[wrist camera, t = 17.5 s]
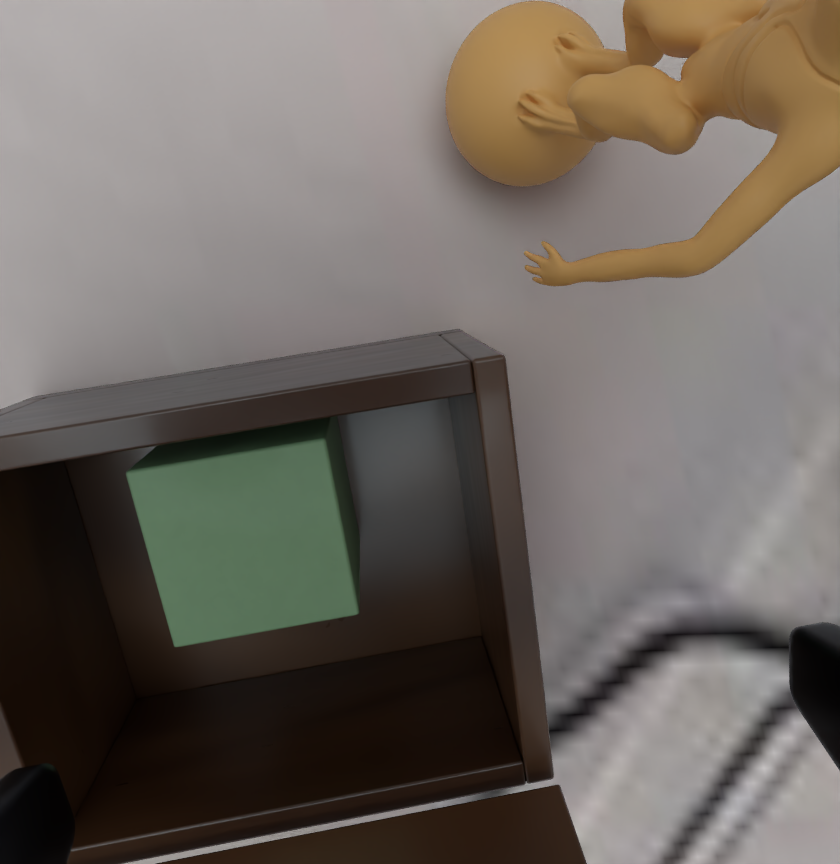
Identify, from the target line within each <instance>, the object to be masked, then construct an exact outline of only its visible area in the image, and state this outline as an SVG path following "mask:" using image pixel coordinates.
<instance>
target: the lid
mask: <svg viewBox="0 0 840 864" xmlns="http://www.w3.org/2000/svg"><path fill="white" fill-rule="evenodd" d="M157 864H587V863H586V860H585V857H584V854H583V851H582V848H581V846H580V843H579V840H578V837H577V834H576V831H575V828H574V825H573V822H572V819H571V816H570V814H569V811H568V808H567V805H566V802H565V799H564V796H563V793H562V790H561V787H560V786H559V785H554V786H549V787H544V788H539V789H533V790H528V791H523V792H518V793H513V794H508V795H503V796H498V797H493V798H488V799H483V800H477V801H472V802H467V803H462V804H457V805H452V806H447V807H442V808H437V809H432V810H427V811H421V812H416V813H411V814H406V815H401V816H396V817H391V818H386V819H381V820H376V821H371V822H365V823H360V824H355V825H350V826H345V827H340V828H335V829H330V830H325V831H320V832H315V833H309V834H304V835H299V836H294V837H289V838H284V839H279V840H274V841H269V842H264V843H258V844H253V845H248V846H243V847H238V848H233V849H228V850H223V851H218V852H213V853H208V854H202V855H197V856H192V857H187V858H182V859H177V860H172V861H167V862H162V863H157Z"/></svg>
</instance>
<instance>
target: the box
mask: <svg viewBox="0 0 840 864" xmlns="http://www.w3.org/2000/svg"><path fill="white" fill-rule="evenodd" d="M334 416H337V419H338V424H339V429H340V435H341V440H342V445H343V451H344V456H345V461H346V467H347V472H348V477H349V483H350V488H351V493H352V499H353V504H354V509H355V515H356V520H357V525H358V531H359V536H360V611H359V614H357V615H353V616H348V617H342V618H336V619H331V620H325V621H320V622H314V623H309V624H303V625H298V626H292V627H287V628H281V629H276V630H270V631H265V632H259V633H253V634H248V635H242V636H237V637H231V638H226V639H220V640H215V641H209V642H204V643H198V644H193V645H187V646H182V647H175V646H174V644H173V641H172V637H171V634H170V630H169V626H168V623H167V619H166V616H165V612H164V609H163V605H162V601H161V598H160V594H159V591H158V587H157V584H156V580H155V576H154V573H153V569H152V566H151V562H150V559H149V555H148V551H147V548H146V544H145V541H144V537H143V534H142V530H141V526H140V523H139V519H138V516H137V512H136V509H135V505H134V501H133V498H132V494H131V491H130V487H129V484H128V480H127V476H126V472H127V471H128V470H129V469H130V468H131V467H132V466H134V465H135V464H136V463H137V462H138V461H140V460H141V459H142V458H143V457H144V456H146V455H147V454H148V453H149V452H150V451H152V450H153V449H154V448H155V447H156V446H158V445H164V444H170V443H176V442H182V441H188V440H194V439H200V438H207V437H213V436H219V435H225V434H231V433H237V432H243V431H249V430H255V429H261V428H267V427H273V426H279V425H285V424H291V423H297V422H303V421H310V420H316V419H322V418H328V417H334ZM43 763H48V764H52V765H53V766H54V767H55V768H56V769H57V771H58V773H59V775H60V778H61V781H62V784H63V787H64V789H65V792H66V795H67V798H68V801H69V803H70V806H71V809H72V812H73V815H74V819H75V836H74V841H73V845H72V848H71V852H70V855H69V858H68V862H67V864H123V863H128V862H133V861H138V860H143V859H148V858H153V857H159V856H164V855H169V854H174V853H179V852H184V851H189V850H194V849H199V848H205V847H210V846H215V845H220V844H225V843H230V842H235V841H240V840H245V839H250V838H256V837H261V836H266V835H271V834H276V833H281V832H286V831H291V830H296V829H302V828H307V827H312V826H317V825H322V824H327V823H332V822H337V821H342V820H347V819H353V818H358V817H363V816H368V815H373V814H378V813H383V812H388V811H393V810H399V809H404V808H409V807H414V806H419V805H424V804H429V803H434V802H439V801H444V800H450V799H455V798H460V797H465V796H470V795H475V794H480V793H485V792H490V791H496V790H501V789H506V788H511V787H516V786H521V785H524V784H525V783H526V782H527V783H535V782H540V781H545V780H550V779H553V777H554V772H553V763H552V755H551V746H550V737H549V729H548V720H547V712H546V703H545V694H544V686H543V677H542V668H541V660H540V651H539V643H538V634H537V625H536V617H535V608H534V599H533V591H532V582H531V573H530V565H529V556H528V548H527V539H526V530H525V522H524V513H523V504H522V496H521V487H520V479H519V470H518V461H517V453H516V444H515V435H514V427H513V418H512V410H511V401H510V392H509V384H508V375H507V366H506V358H505V356H504V355H503V354H501V353H499V352H498V351H496V350H494V349H493V348H491V347H489V346H487V345H486V344H484V343H482V342H480V341H479V340H477V339H475V338H473V337H472V336H470V335H468V334H466V333H465V332H463V331H462V330H460V329H455V330H449V331H443V332H436V333H430V334H424V335H418V336H411V337H405V338H399V339H393V340H386V341H380V342H374V343H368V344H361V345H355V346H349V347H343V348H336V349H330V350H324V351H318V352H311V353H305V354H299V355H293V356H286V357H280V358H274V359H268V360H261V361H255V362H249V363H243V364H236V365H230V366H224V367H217V368H211V369H205V370H199V371H192V372H186V373H180V374H174V375H167V376H161V377H155V378H149V379H142V380H136V381H130V382H124V383H117V384H111V385H105V386H99V387H92V388H86V389H80V390H74V391H67V392H61V393H55V394H49V395H42V396H36V397H32V398H29V399H26V400H24V401H22V402H19V403H16V404H14V405H11V406H8V407H6V408H3V409H0V778H2V777H3V776H5V775H6V774H7V773H9V772H10V771H12V770H14V769H17V768H21V767H26V766H32V765H37V764H43Z"/></svg>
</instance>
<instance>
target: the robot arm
mask: <svg viewBox="0 0 840 864" xmlns="http://www.w3.org/2000/svg"><path fill="white" fill-rule="evenodd" d="M789 684H790V690H791V694H792V697H793V700H794V702H795V704H796V706H797V707H798V709H799V711H800V712H801V714H802V715H803V717H804V718H805V720H806V721H807V723H808V724H809V726H810V727H811V729H812V730H813V732H814V733H815V735H816V736H817V738H818V739H819V741H820V742H821V743H822V745H823V746H824V748H825V749H826V751H827V752H828V754H829V755H830V757H831V758H832V760H833V761H834V763H835V764H836V766H837V767H838V769H839V770H840V626H838V625H835V624H831V623H825V622H822V623H816V624H811V625H805V626H800V627H796V628H795V629H793V630H792V632H791V634H790V637H789ZM74 836H75V819H74V815H73V812H72V809H71V806H70V803H69V801H68V798H67V795H66V792H65V789H64V787H63V784H62V781H61V778H60V775H59V773H58V771H57V769H56V768H55V767H54V766H53V765H52V764H48V763H43V764H37V765H32V766H26V767H21V768H17V769H14V770H12V771H10V772H9V773H7V774H6V775H5V776H3V777H2V778H0V864H67V862H68V858H69V855H70V852H71V848H72V845H73V841H74Z"/></svg>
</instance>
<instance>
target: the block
mask: <svg viewBox="0 0 840 864" xmlns="http://www.w3.org/2000/svg"><path fill="white" fill-rule="evenodd" d="M126 476H127V480H128V484H129V487H130V491H131V494H132V498H133V501H134V505H135V509H136V512H137V516H138V519H139V523H140V526H141V530H142V534H143V537H144V541H145V544H146V548H147V551H148V555H149V559H150V562H151V566H152V569H153V573H154V576H155V580H156V584H157V587H158V591H159V594H160V598H161V601H162V605H163V609H164V612H165V616H166V619H167V623H168V626H169V630H170V634H171V637H172V641H173V644H174V646H175V647H182V646H187V645H193V644H198V643H204V642H209V641H215V640H220V639H226V638H231V637H237V636H242V635H248V634H253V633H259V632H265V631H270V630H276V629H281V628H287V627H292V626H298V625H303V624H309V623H314V622H320V621H325V620H331V619H336V618H342V617H348V616H353V615H357V614H359V611H360V536H359V531H358V525H357V520H356V515H355V509H354V504H353V499H352V493H351V488H350V483H349V477H348V472H347V467H346V461H345V456H344V451H343V445H342V440H341V435H340V429H339V424H338V419H337V416H334V417H328V418H322V419H316V420H310V421H303V422H297V423H291V424H285V425H279V426H273V427H267V428H261V429H255V430H249V431H243V432H237V433H231V434H225V435H219V436H213V437H207V438H200V439H194V440H188V441H182V442H176V443H170V444H164V445H158V446H156V447H155V448H154V449H153V450H152V451H150V452H149V453H148V454H147V455H146V456H144V457H143V458H142V459H141V460H140V461H138V462H137V463H136V464H135V465H134V466H132V467H131V468H130V469H129V470H128V471H127V472H126Z"/></svg>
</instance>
